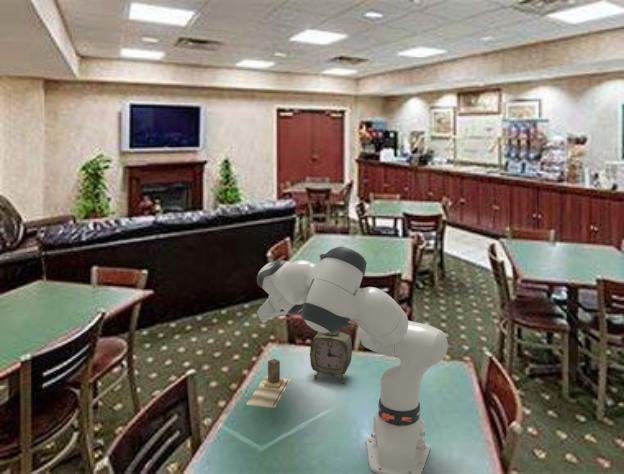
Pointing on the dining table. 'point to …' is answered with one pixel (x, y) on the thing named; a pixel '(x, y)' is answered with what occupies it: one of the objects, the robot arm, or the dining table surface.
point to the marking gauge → (273, 374)
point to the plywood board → (267, 394)
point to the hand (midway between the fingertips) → (272, 317)
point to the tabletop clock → (331, 353)
